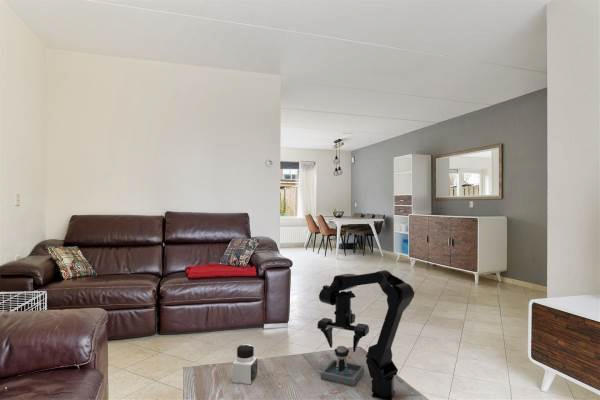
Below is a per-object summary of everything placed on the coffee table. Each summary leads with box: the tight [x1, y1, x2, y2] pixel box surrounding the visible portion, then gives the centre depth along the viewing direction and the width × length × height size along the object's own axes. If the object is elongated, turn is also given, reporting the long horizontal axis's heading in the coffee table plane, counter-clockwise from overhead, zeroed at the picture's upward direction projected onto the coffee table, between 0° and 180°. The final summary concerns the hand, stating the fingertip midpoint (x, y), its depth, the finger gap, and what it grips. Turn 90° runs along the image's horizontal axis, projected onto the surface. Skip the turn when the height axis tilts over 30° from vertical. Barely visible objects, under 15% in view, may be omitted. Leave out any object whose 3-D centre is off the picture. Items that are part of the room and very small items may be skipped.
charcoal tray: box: [320, 359, 365, 388], centre depth 138 cm, size 13×13×2 cm
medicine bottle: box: [232, 343, 258, 385], centre depth 135 cm, size 7×7×12 cm
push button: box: [334, 345, 352, 376], centre depth 138 cm, size 7×5×10 cm
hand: (342, 349), depth 139 cm, fingers open, 9 cm apart
